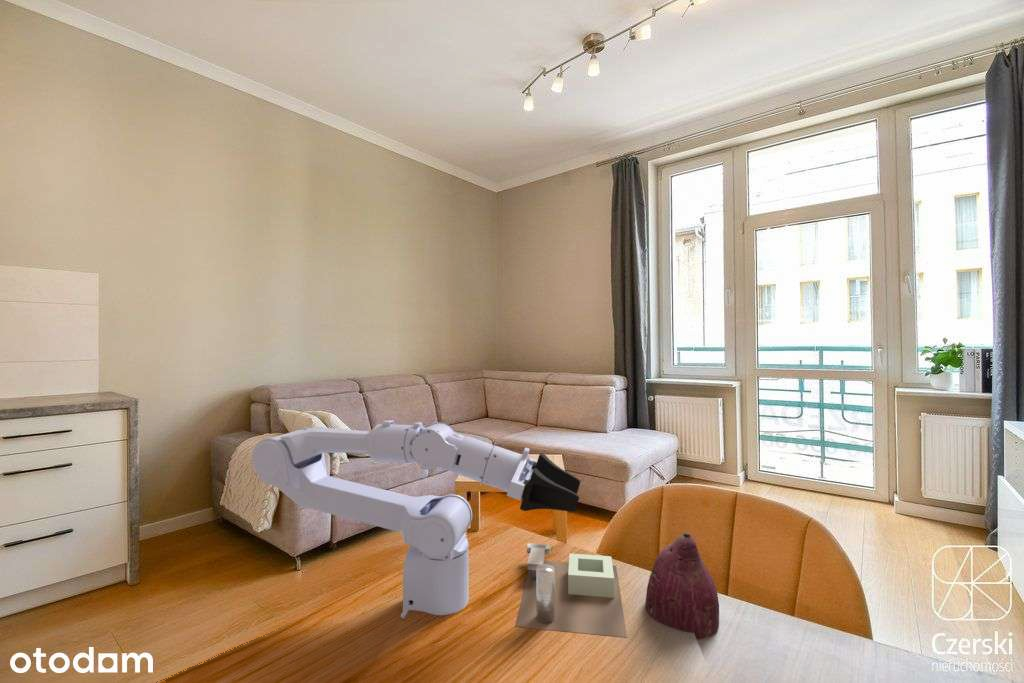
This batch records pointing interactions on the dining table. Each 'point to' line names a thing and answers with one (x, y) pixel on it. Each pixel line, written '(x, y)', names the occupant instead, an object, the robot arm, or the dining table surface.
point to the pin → (545, 593)
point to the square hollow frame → (590, 575)
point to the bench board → (570, 602)
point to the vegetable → (683, 590)
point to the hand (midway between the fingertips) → (578, 495)
